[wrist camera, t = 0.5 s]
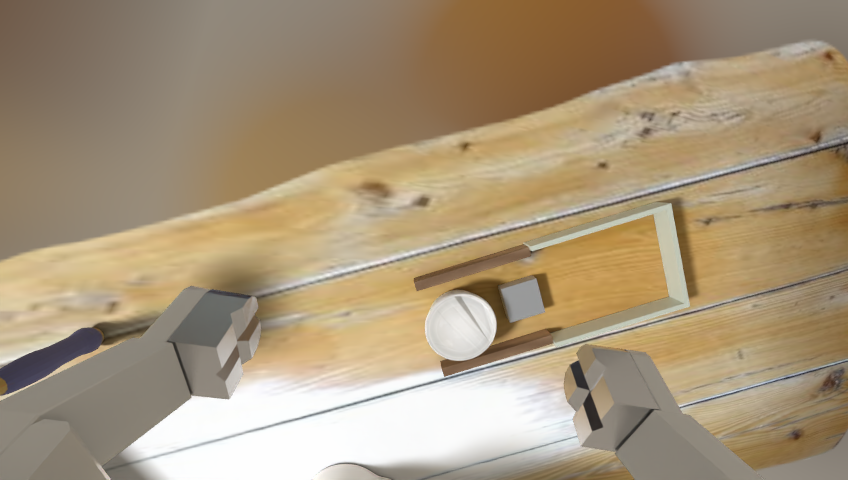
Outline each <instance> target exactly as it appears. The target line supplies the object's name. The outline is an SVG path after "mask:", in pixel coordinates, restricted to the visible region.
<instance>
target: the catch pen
mask: <svg viewBox="0 0 848 480" xmlns="http://www.w3.org/2000/svg"><path fill="white" fill-rule="evenodd" d="M651 214H653V215H654V220H655V225H656V230H657V235H658V241H659V246H660V251H661V256H662V261H663V267H664V272H665V277H666V282H667V288H668V293H669V297H666V298H663V299H660V300H657V301H653V302H650V303H647V304H644V305H640V306H637V307H634V308H631V309H627V310H624V311H621V312H618V313H614V314H611V315H608V316H605V317H601V318H598V319H595V320H592V321H588V322H585V323H582V324H579V325H575V326H572V327H569V328H565V329H562V330H559V331H556V332H552V333H550V334H551V335H552V338H553V342H554V343H553V344H554V345H555V346H556V347H560V346H563V345H566V344H569V343H573V342H576V341H579V340H582V339H586V338H589V337H592V336H595V335H599V334H602V333H605V332H608V331H612V330H615V329H618V328H621V327H625V326H628V325H631V324H634V323H638V322H641V321H644V320H647V319H651V318H654V317H657V316H660V315H664V314H667V313H670V312H673V311H677V310H680V309H683V308H687V307H690V304H689V298H688V293H687V287H686V282H685V276H684V271H683V265H682V260H681V254H680V249H679V243H678V238H677V232H676V227H675V221H674V216H673V210H672V205H671V203H664V202H654V203H650V204H647V205H644V206H641V207H637V208H634V209H631V210H628V211H624V212H621V213H618V214H615V215H611V216H608V217H605V218H602V219H599V220H595V221H592V222H589V223H586V224H582V225H579V226H576V227H573V228H569V229H566V230H563V231H560V232H556V233H553V234H550V235H547V236H543V237H540V238H537V239H534V240H530V241H527V242H524V245H526V246H528V247H529V249H530V250H531V251H534V250H538V249H541V248H544V247H547V246H551V245H554V244H557V243H560V242H564V241H567V240H570V239H573V238H577V237H580V236H583V235H586V234H590V233H593V232H596V231H599V230H603V229H606V228H609V227H612V226H616V225H619V224H622V223H625V222H629V221H632V220H635V219H638V218H642V217H645V216H648V215H651Z"/></svg>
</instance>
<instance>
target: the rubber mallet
mask: <svg viewBox="0 0 848 480" xmlns="http://www.w3.org/2000/svg"><path fill="white" fill-rule="evenodd" d="M103 340H104V334H103V332H102V331H101V330H99V329H98V328H81V329H79V330H78V331H76V332H74V333H73V334H72V335H71V336H69V337H68V338H66V339H64V340H62V341H59V342H57V343H55V344H53V345H51V346H49V347H46V348H43V349H40V350H37V351H34V352H32V353H29V354H27V355H25V356H23V357H21V358H19V359H17V360H15V361H13V362H11V363H9V364H8V365H6V366H4V367H2V368H1V369H0V396H2V395H6V394H9V393H12V392H14V391H17V390H19V389H21V388H23V387H26V386H28V385H30V384H32V383H34V382H36V381H38V380H40V379H42V378H44V377H46V376H47V375H49V374H50V373H52V372H53V371H54V370H56V369H57V368H59V367H60V366H62V365H63V364H65V363H67V362H69V361H71V360H73V359H75V358H76V357H78V356H81V355H83V354H87V353H91V352H93V351H94V350H96V349H98V347H99V346H100V345H101V343H102V342H103Z"/></svg>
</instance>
